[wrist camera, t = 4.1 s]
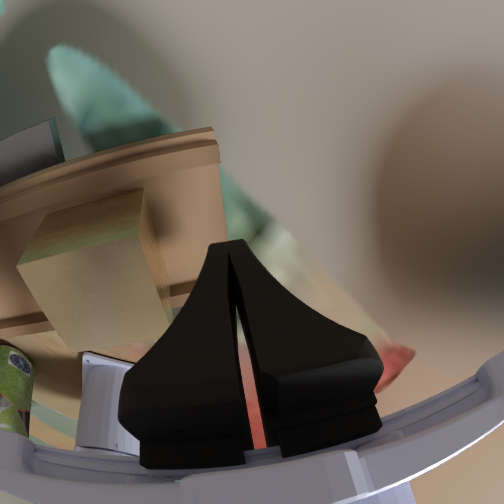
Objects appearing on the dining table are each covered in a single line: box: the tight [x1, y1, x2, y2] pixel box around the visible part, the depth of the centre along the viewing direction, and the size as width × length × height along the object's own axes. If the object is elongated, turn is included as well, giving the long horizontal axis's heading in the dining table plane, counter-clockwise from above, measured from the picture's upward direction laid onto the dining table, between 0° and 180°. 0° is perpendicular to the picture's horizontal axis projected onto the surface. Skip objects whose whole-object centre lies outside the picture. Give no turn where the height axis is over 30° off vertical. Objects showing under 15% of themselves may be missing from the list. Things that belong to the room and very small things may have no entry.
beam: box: [0, 127, 228, 338], centre depth 12 cm, size 25×9×4 cm, turn 94°
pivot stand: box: [0, 118, 66, 187], centre depth 14 cm, size 8×13×3 cm, turn 4°
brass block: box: [16, 188, 173, 353], centre depth 12 cm, size 5×5×4 cm
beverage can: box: [0, 345, 35, 439], centre depth 18 cm, size 6×7×12 cm
